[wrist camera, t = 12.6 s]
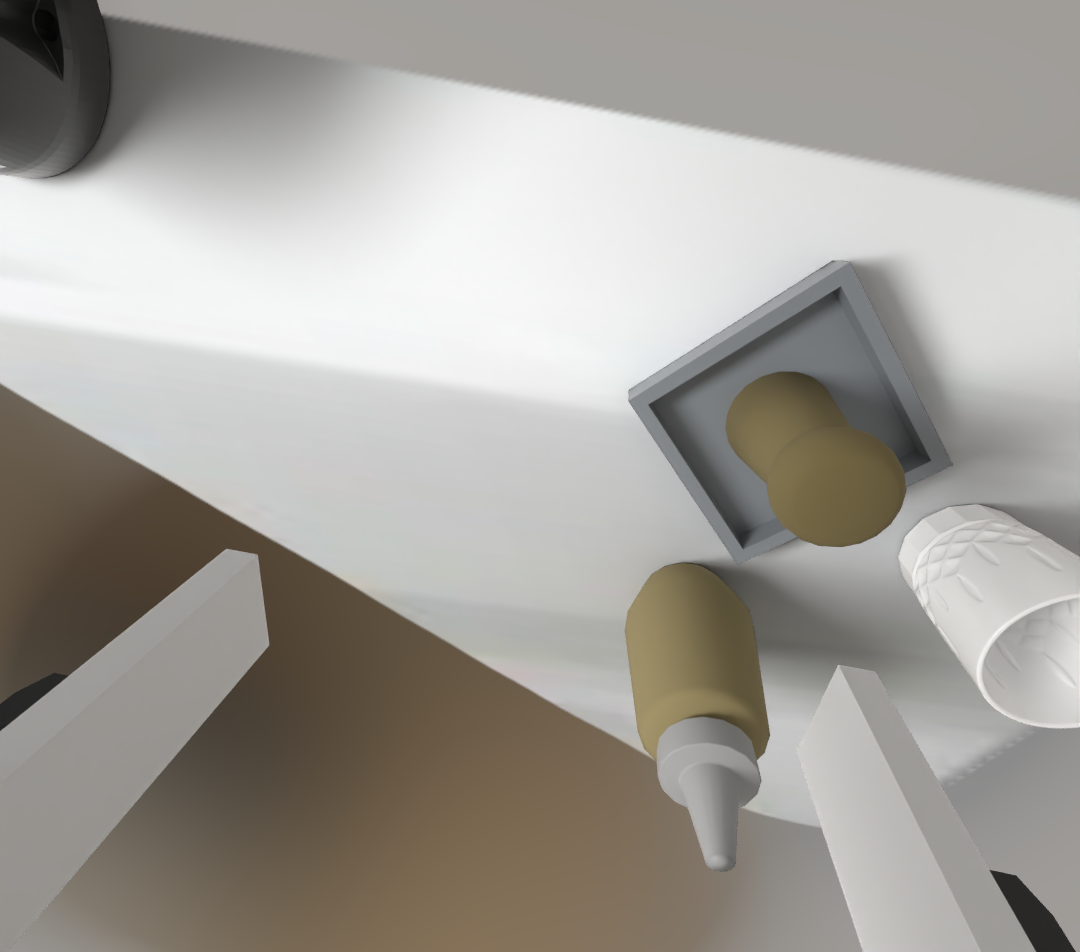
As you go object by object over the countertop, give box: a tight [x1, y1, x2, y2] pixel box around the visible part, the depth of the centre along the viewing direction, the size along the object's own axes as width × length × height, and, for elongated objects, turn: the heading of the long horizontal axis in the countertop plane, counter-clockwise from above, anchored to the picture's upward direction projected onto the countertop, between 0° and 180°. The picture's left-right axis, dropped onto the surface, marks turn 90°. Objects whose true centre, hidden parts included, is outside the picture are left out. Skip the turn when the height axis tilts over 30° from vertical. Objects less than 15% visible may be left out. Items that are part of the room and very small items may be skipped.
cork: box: [725, 371, 906, 547], centre depth 26 cm, size 6×6×11 cm
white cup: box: [898, 504, 1080, 728], centre depth 29 cm, size 8×8×10 cm
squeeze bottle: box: [625, 563, 770, 872], centre depth 30 cm, size 8×8×18 cm
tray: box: [628, 261, 953, 565], centre depth 31 cm, size 13×13×2 cm
